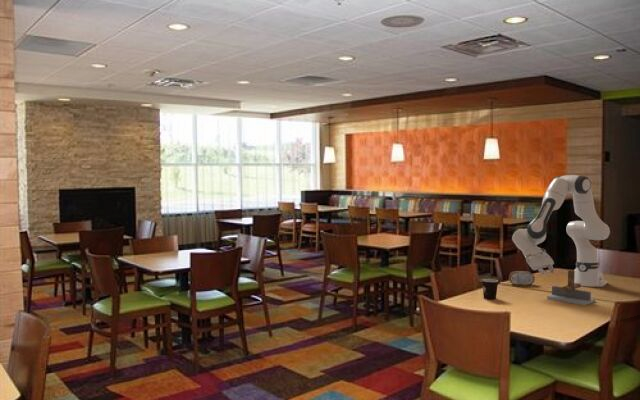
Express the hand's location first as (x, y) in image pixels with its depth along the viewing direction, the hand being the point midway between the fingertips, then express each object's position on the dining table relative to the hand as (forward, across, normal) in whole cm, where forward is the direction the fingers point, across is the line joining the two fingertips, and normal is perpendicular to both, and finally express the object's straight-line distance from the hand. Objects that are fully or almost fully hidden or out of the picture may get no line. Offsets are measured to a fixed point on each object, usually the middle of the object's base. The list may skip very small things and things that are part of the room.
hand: (549, 273), depth 296 cm
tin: (-9, +17, +28) cm, 34 cm away
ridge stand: (+18, 0, +1) cm, 18 cm away
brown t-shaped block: (+13, 0, -3) cm, 14 cm away
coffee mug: (-5, -28, +24) cm, 37 cm away
